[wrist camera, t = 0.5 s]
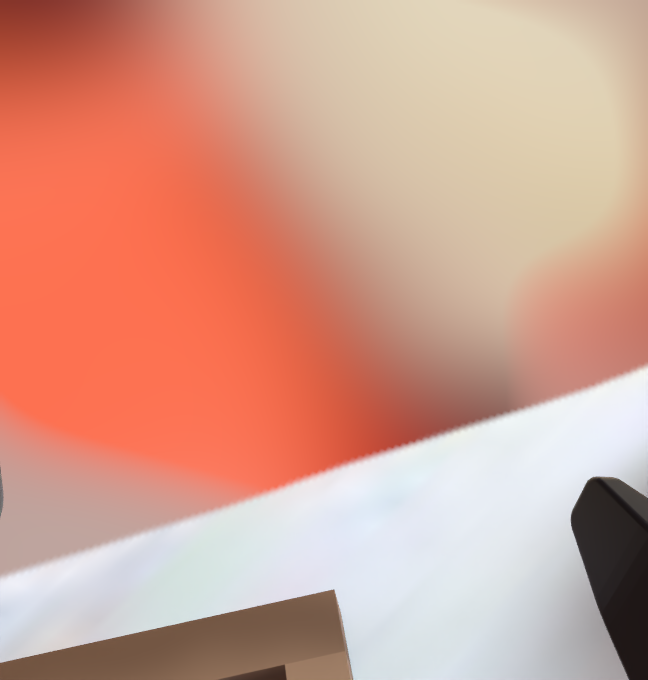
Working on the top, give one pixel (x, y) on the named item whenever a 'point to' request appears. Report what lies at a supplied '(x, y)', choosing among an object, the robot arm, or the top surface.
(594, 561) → the robot arm
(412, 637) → the top surface
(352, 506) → the top surface
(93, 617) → the top surface
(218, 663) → the square wooden frame
